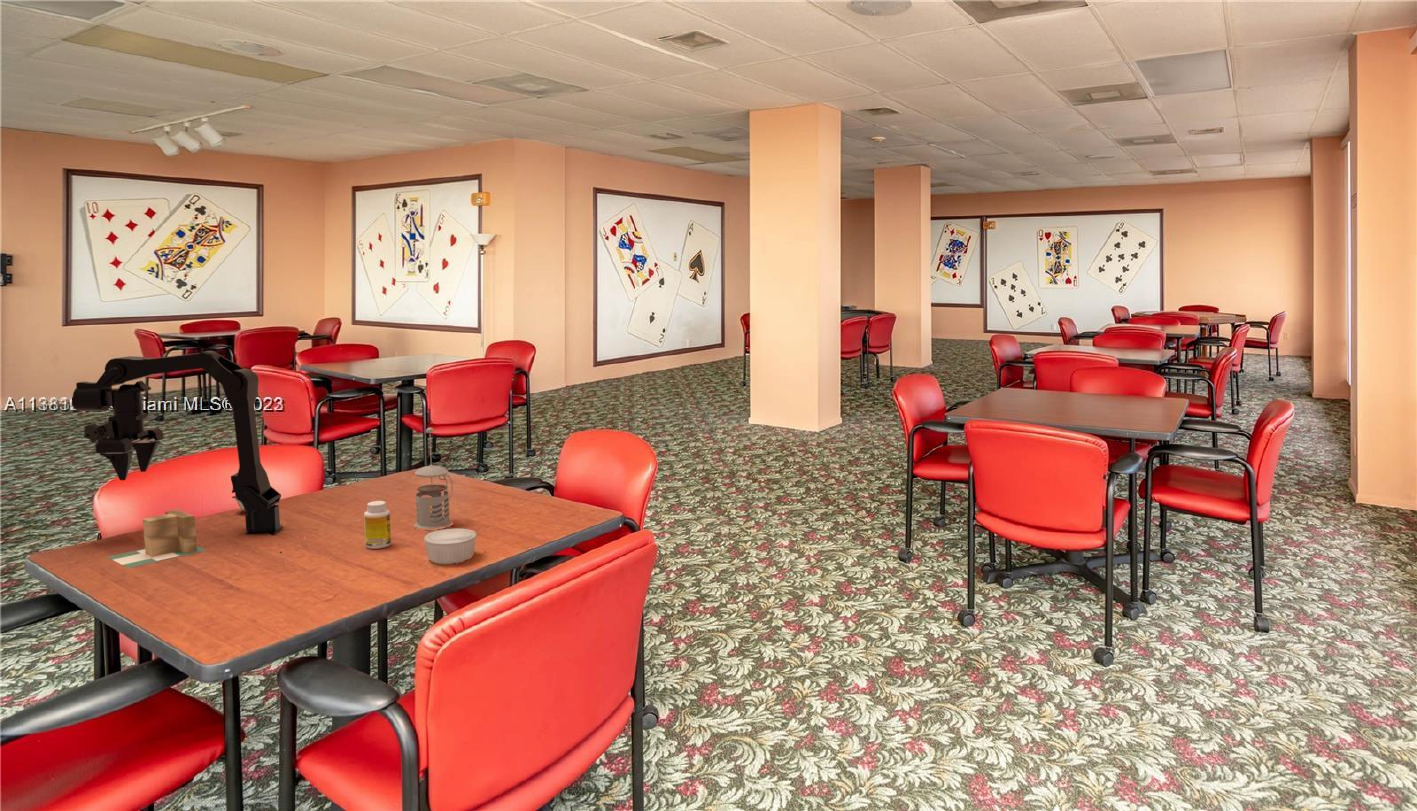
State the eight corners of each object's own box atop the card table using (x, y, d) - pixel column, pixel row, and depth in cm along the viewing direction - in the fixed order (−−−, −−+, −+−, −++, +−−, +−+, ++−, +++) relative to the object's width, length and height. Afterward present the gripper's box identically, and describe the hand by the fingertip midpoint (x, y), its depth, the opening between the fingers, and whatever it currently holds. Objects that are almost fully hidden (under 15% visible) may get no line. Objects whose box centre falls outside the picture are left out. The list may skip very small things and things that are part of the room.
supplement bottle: (392, 547, 192) (390, 504, 191) (366, 550, 190) (364, 507, 189) (390, 541, 197) (388, 498, 196) (364, 544, 195) (362, 501, 193)
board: (184, 542, 195) (184, 540, 195) (207, 552, 188) (207, 549, 188) (106, 558, 183) (106, 556, 183) (128, 570, 176) (128, 567, 176)
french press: (404, 528, 208) (399, 429, 205) (435, 516, 219) (432, 422, 215) (436, 532, 205) (432, 431, 201) (466, 520, 215) (463, 424, 212)
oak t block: (180, 542, 193) (177, 509, 192) (197, 550, 188) (194, 515, 187) (140, 551, 187) (137, 516, 186) (157, 559, 181) (154, 523, 180)
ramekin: (448, 569, 178) (447, 545, 177) (413, 560, 184) (412, 537, 183) (488, 556, 187) (487, 533, 187) (453, 547, 193) (452, 525, 192)
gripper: (112, 405, 204) (117, 468, 206) (65, 417, 185) (72, 485, 187) (161, 405, 205) (166, 467, 207) (120, 416, 187) (126, 484, 189)
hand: (133, 475), depth 198 cm, fingers open, 9 cm apart
